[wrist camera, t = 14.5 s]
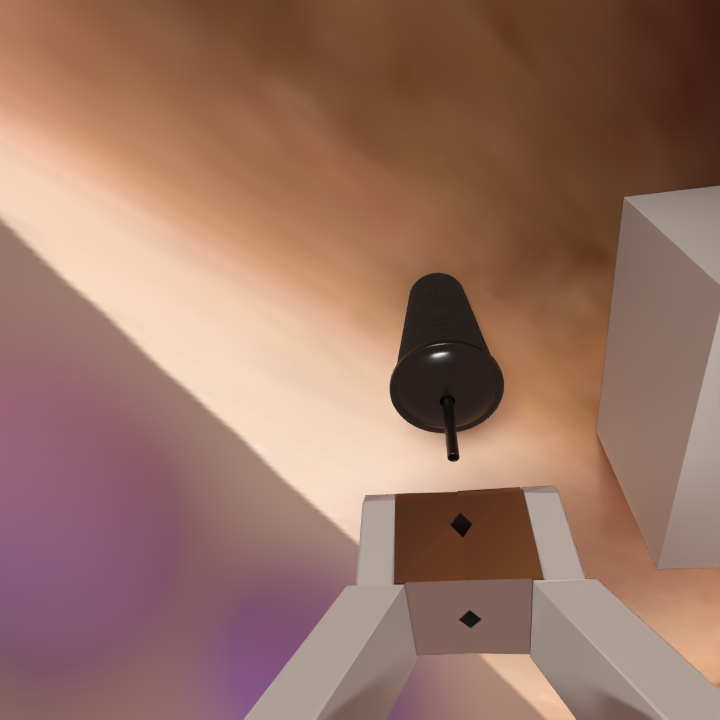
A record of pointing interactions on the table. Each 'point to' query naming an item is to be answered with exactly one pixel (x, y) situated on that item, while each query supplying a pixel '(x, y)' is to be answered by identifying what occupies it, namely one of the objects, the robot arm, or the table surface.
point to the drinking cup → (444, 363)
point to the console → (667, 374)
